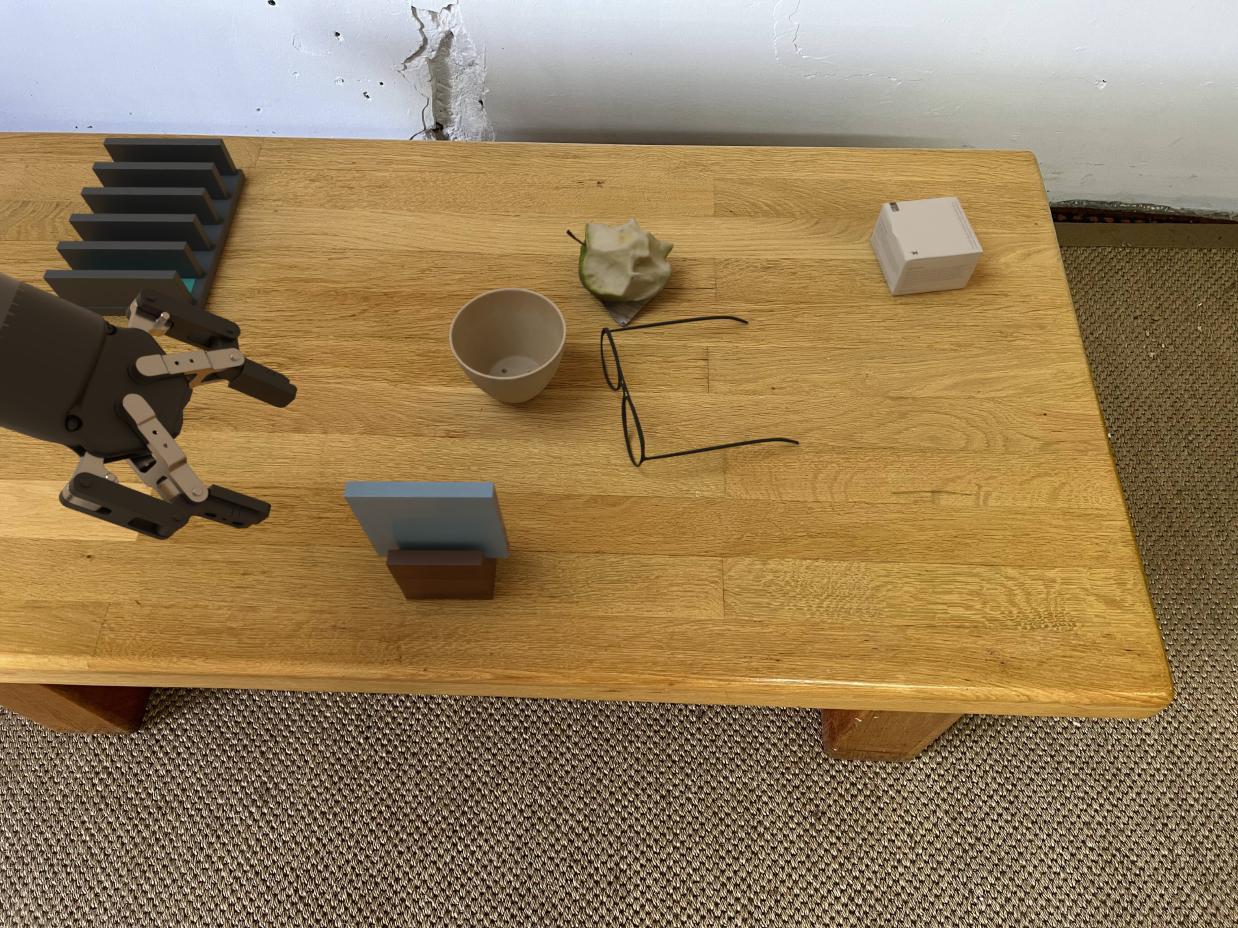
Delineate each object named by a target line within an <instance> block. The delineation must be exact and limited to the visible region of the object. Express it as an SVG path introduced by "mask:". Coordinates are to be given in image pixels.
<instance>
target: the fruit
mask: <svg viewBox="0 0 1238 928" xmlns="http://www.w3.org/2000/svg"><path fill="white" fill-rule="evenodd" d="M566 234H567V235H568V236H569V237H570V238H571V239H573V240H574V241H576V242H577V243H579V244H580V245H581V246H580V248H579V249H580V250H579V252H580V253H579V257H578V265H577V266H578V270H577V272H578V279H579V280H580V283H581V286H582V287H583V288H584V289H586V291H588V292H589V293H590V294H591V295H592V296H593V297H595V298H596V299H597V300H598V302H600V303H601V304H602V306H603V307H604V308H605V310H606V311H607V312H608V314H609V315H610V317H611V318H612V319H613V320H614V321H615V322H616V323H618V324H619V325H620V326H624V327H625V326H626V325H627V324H628V323H629V322H630V321H631V320H632V319H633V318H634V317H635V316H636V315H637V313H638V312H639V311H640V310H641V309H642V308H643V307H644V306H645V305H646V304H647V303H648V302H649V301H650V300H651V299H653V298H654V297H655V296H657V295H658V294H660V293H661V292H662V291H663V290H664V288H665V287H666V286H667V284H668V283H669V281H670V279H671V277H672V266H671V263H670V262H668V261H667V260H666V259H667V257H668V256H669V254H670V253H671V252H672V251H673V248H674V245H675V244H674V243H673V242H668V241H665V240H660V239H657V238H656V237H655V235H654V234H652V233H651V231H649V230H644V229H642V228H641V227H640V225H639V223H638V221H637V219H636V217H630V218H629V220H628V221H627V222H626V223H624V224H618V225H616V226H612V225H611V226H610V225H607V224H605V223H601V222H600V223H596V222H586V223H585V224H584V240H583V241H582V240H580V239H579V238H577V237H576V235H574V233H572V231H571V230H570V229H567V230H566Z"/></svg>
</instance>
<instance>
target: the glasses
mask: <svg viewBox="0 0 1238 928" xmlns="http://www.w3.org/2000/svg"><path fill="white" fill-rule="evenodd" d="M713 320H715V321H716V320H731V321H735V322H738V323H742V324H746V325H747V324H749V322H748V320H746V319H742V318H740V317H737V316H735V315H734V316H733V315H707V316H697V317H691V318H682V319H675V320H666V321H659V322H652V323H645V324H639V325H638V324H637V325H632V326H631V325H630V326H624V327H619V328H613V329H609V327H607V326H606V327H603V328H602V329H601V332H600V338H599V339H600V343H599V349H600V360H601V367H602V371H603V375H604V378H605V380H606V383H607V385H608V386H609V388H610V389H611V390H612V391H614V392H618V391H620V390H622V397H621V409H620V411H621V422H622V429H623V434H624V440H625V441H624V443H625V445H626V451H627V453H628V456H629V459H630V461H631V463H632V465H633V466H634V467H636V468H639V467H641V465H643V463H645V462H647V461H653V460H660V459H667V458H674V457H680V456H688V455H693V454H700V453H707V452H711V451H717V450H723V449H729V448H736V447H742V446H749V445H755V444H756V445H757V444H762V443H773V442H774V443H775V442H781V443H789V444H795V445H799V444H800V443H799V440H795V439H792V438H787V437H766V438H757V439H752V440H743V441H739V442H732V443H725V444H720V445H714V446H708V447H702V448H695V449H689V450H685V451H677V452H671V453H666V454H660V455H653V456H646V442H645V441H646V440H645V435H644V432H643V428H642V424H641V422H640V417H639V415H638V413H637V410H636V408H635V407H636V406H635V405H634V402H633V400H632V397H631V395H630V391H629V389H628V386H627V382H626V380H625V376H624V373H623V370H622V367H621V362H620V357H619V354H618V351H617V350H618V349H617V347H616V344H615V340H614V337H613V336H612V333H617V332H627V331H632V330H640V329H641V330H642V329H648V328H655V327H656V328H657V327H664V326H670V325H678V324H686V323H687V324H688V323H695V322H703V321H704V322H705V321H713ZM605 334H606V337H607V339H608V342H609V345H610V348H611V350H612V354H613V358H614V362H615V366H616V373H617V386H616V387H615V386H614V384H613V383H612V381H611V379H610V376H609V374H608V371H607V367H606V366H607V365H606V363H605V362H606V361H605V355H604V347H603V346H604V345H603V342H604V336H605ZM627 403H628V406H629V408H630V411H631V414H632V417H633V421H634V423H635V427H636V432H637V436H638V440H639V446H640V458H639V462H638V464H637V462H636V461H635V458H634V455H633V452H632V448H631V444H630V439H629V438H630V437H629V432H628V424H627V423H628V420H627Z"/></svg>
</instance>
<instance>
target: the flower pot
mask: <svg viewBox="0 0 1238 928" xmlns="http://www.w3.org/2000/svg"><path fill="white" fill-rule="evenodd" d="M448 334H449V335H448V339H449V340H448V341H449V342H448V343H449V346H450V350H451V352H452V354H453V356H454V358H455V361H456V362H457V364H458V366H459V367H460V368H461V370H462V371H463V373H464V374H465V375H466V376H467V378H469V380H470V381H471V382H472V383H473V384H474V385H475V386H476V387H477V388H478V389H479V390H481V391H482V392H484V393H485V394H487V395H489V396H490V397H492V398H494V399H496V400H499V401H501V402H505V403H508V404H509V403H510V404H519V403H520V404H521V403H524V402H527V401H529V400H532V399H533V398H534V397H536V396H537V395H539V394H540V393H541V392H542V391H543V390H544V389H545V388H546V387H547V386H548V384H549V383H550V382H551V381H552V379H553V377H554V376H555V374H556V372H557V370H558V368H559V366H560V364H561V361H562V358H563V354H564V351H565V346H566V341H567V324H566V320H565V317H564V315H563V313H562V311H561V310H560V308H559V306H557V305H556V303H555V302H553V301H552V300H551V299H549V298H548V297H547V296H545V295H543V294H541V293H539V292H537V291H534V290H530V289H528V288H527V289H526V288H521V287H501V288H495V289H491V290H488V291H485V292H483V293H481V294H478V295H477V296H474V297H473V298H472V299H470V300H469V301H467V302H466V303H465V304H464V305H463V306H462V307H461V308H460V309H459V310H458V312H457V313H455V316H454V317H453V319H452V322H451V324H450V328H449V332H448Z"/></svg>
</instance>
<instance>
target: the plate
mask: <svg viewBox="0 0 1238 928" xmlns="http://www.w3.org/2000/svg"><path fill="white" fill-rule="evenodd" d="M343 499H345V501H346V503H347V505H348V506H349V508H350V510H351V512H352V513H353V515H354V517H355V518H356V520H357V522H358V523H359V525H360V527H361V528H362V530H363V532H364V534H365V535H366V537H367V539H368V541H369V543H370V544H371V547H373V549H374V551H375V553H376V554H377V556H378V558H387V555H388V550H483V552H484V555H485V558H497V559H509V554H510V541H509V537H508V532H507V529H506V525H505V522H504V517H503V514H502V510H501V504H500V501H499V498H498V493H497V490H496V486H495V482H493V481H389V480H388V481H383V480H381V481H379V480H378V481H374V480H372V481H371V480H370V481H366V480H364V481H363V480H360V481H359V480H347V481H345V487H344V493H343Z"/></svg>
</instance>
